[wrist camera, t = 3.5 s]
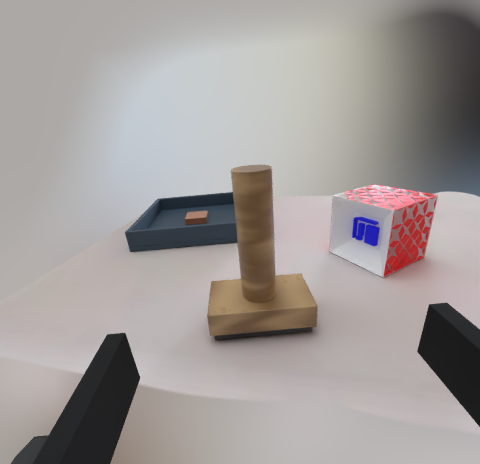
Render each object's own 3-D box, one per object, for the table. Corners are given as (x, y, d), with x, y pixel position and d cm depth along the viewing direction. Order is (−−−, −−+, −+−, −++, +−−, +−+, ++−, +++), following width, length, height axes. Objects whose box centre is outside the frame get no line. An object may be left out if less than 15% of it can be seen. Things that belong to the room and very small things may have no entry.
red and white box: (424, 257, 32) (438, 195, 29) (383, 277, 29) (394, 210, 25) (367, 236, 38) (373, 184, 35) (328, 251, 35) (332, 195, 32)
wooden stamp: (211, 343, 22) (184, 180, 16) (214, 305, 26) (194, 168, 21) (316, 334, 22) (323, 167, 16) (301, 297, 27) (303, 158, 21)
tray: (130, 251, 40) (124, 232, 39) (160, 212, 58) (157, 198, 57) (252, 240, 40) (250, 221, 39) (245, 205, 58) (244, 191, 57)
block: (185, 225, 47) (184, 219, 46) (188, 217, 51) (187, 212, 50) (207, 223, 47) (206, 217, 46) (208, 216, 51) (208, 210, 50)
